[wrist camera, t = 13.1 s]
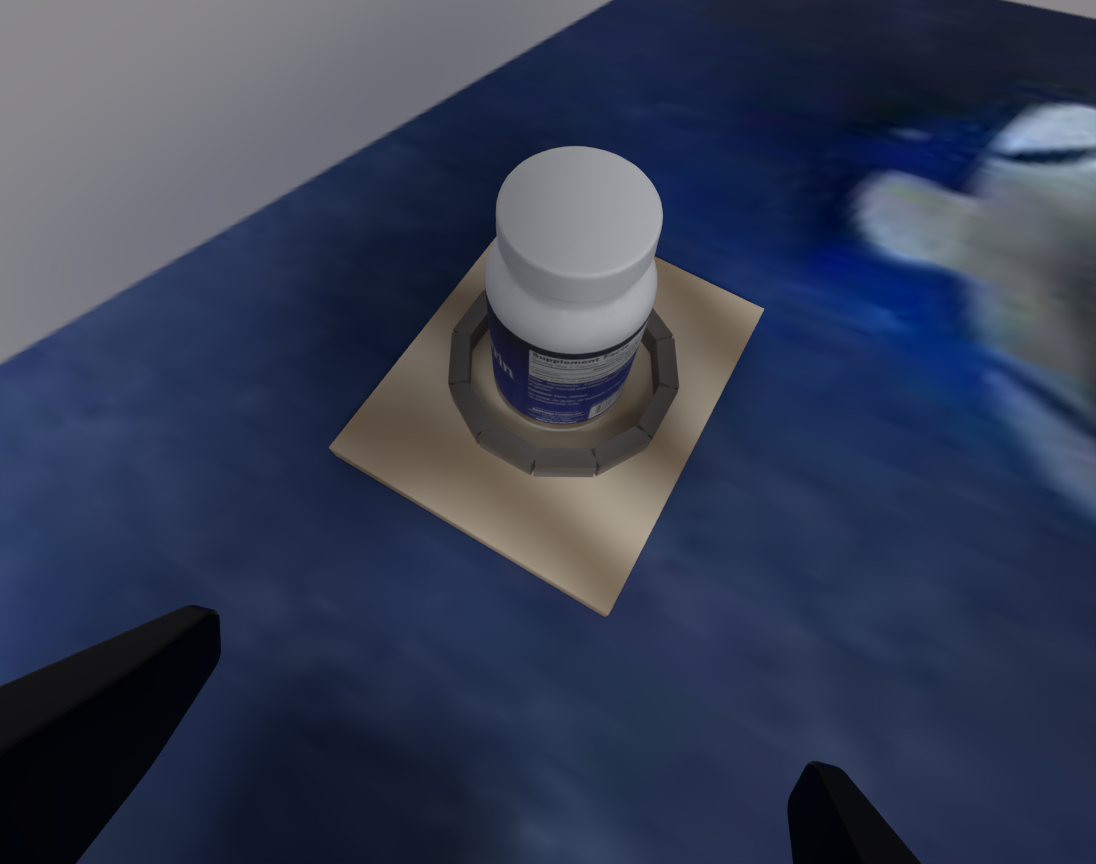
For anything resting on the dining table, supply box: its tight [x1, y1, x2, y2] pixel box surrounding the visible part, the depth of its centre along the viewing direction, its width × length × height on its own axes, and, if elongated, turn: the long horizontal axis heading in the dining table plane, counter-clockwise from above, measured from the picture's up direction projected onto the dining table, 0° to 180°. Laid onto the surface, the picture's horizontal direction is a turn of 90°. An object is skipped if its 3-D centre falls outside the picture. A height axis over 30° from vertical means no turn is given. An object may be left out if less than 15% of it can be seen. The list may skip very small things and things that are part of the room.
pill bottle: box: [485, 146, 663, 431], centre depth 20 cm, size 6×6×10 cm
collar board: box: [329, 236, 764, 617], centre depth 25 cm, size 16×13×2 cm
